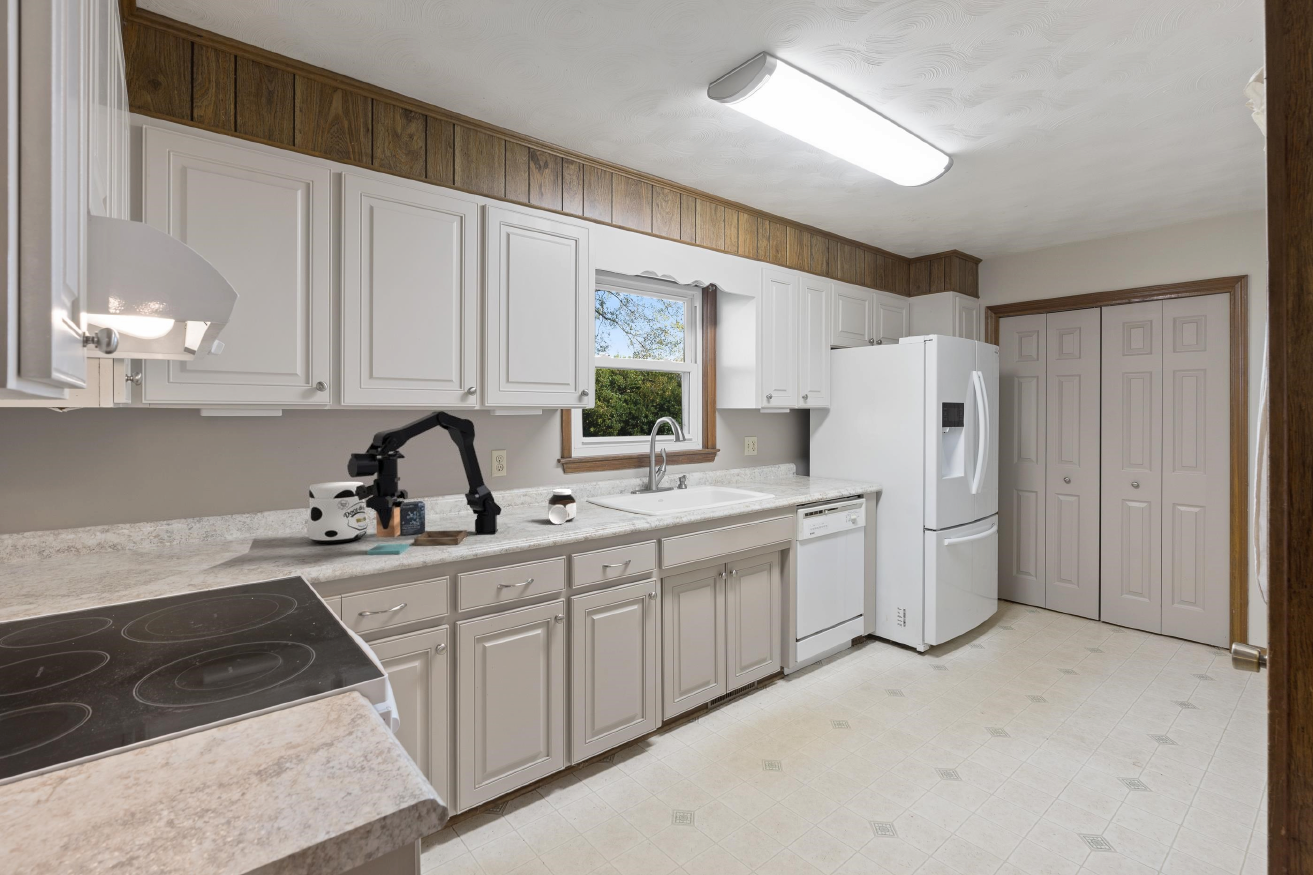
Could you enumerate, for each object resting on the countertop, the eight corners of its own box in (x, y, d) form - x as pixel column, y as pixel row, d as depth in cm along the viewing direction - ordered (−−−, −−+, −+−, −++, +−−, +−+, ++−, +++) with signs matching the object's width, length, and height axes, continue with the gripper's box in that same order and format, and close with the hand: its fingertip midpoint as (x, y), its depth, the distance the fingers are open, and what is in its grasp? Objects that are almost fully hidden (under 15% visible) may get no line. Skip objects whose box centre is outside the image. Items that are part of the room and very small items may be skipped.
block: (400, 533, 184) (399, 507, 183) (394, 537, 179) (394, 509, 178) (382, 534, 183) (382, 507, 183) (376, 537, 178) (376, 510, 178)
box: (401, 536, 202) (400, 504, 202) (397, 533, 207) (397, 502, 206) (425, 533, 207) (425, 502, 206) (421, 531, 211) (421, 500, 211)
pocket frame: (467, 536, 202) (466, 530, 202) (458, 544, 189) (458, 538, 189) (426, 537, 201) (426, 530, 201) (414, 545, 188) (414, 539, 188)
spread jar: (570, 518, 236) (570, 488, 236) (582, 522, 227) (582, 491, 226) (540, 521, 230) (540, 490, 230) (552, 526, 220) (551, 493, 220)
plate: (409, 547, 186) (409, 543, 186) (399, 554, 177) (399, 550, 177) (378, 547, 185) (378, 544, 185) (367, 554, 176) (367, 551, 176)
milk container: (370, 542, 193) (369, 485, 192) (306, 548, 184) (305, 488, 183) (366, 533, 208) (365, 480, 207) (307, 538, 199) (305, 483, 198)
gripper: (370, 471, 189) (371, 522, 189) (345, 478, 170) (347, 534, 171) (407, 471, 190) (409, 521, 190) (387, 477, 171) (388, 533, 172)
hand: (388, 527), depth 181 cm, fingers closed on block, 5 cm apart
